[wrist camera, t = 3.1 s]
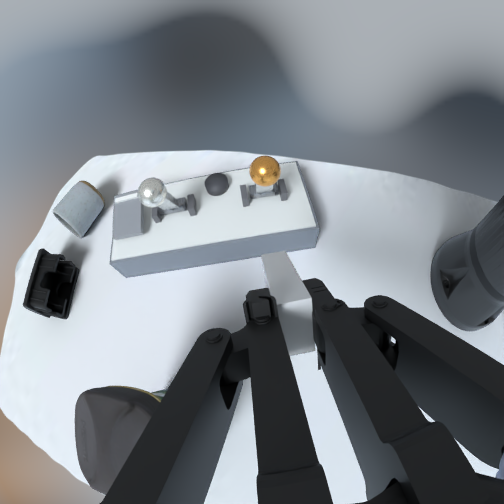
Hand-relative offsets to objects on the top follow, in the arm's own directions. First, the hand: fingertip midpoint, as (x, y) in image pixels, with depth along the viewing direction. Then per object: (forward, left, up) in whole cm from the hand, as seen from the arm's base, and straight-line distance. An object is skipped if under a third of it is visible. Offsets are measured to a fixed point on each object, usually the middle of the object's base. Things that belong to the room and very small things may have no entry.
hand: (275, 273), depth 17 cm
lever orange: (+12, -11, -11) cm, 20 cm away
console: (+17, -5, -18) cm, 25 cm away
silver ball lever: (+19, -2, -11) cm, 22 cm away
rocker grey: (+23, +3, -11) cm, 26 cm away
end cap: (+30, +21, -18) cm, 41 cm away
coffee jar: (0, +17, -18) cm, 25 cm away
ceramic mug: (+39, +9, -18) cm, 44 cm away
